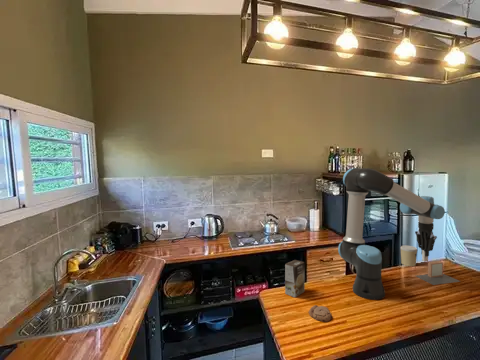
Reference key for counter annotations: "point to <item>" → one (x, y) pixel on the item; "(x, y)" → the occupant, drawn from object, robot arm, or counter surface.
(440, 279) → the slate board
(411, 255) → the coffee cup
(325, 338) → the counter surface
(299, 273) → the coffee box
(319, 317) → the cookie
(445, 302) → the counter surface
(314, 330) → the counter surface
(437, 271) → the tile
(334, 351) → the counter surface
